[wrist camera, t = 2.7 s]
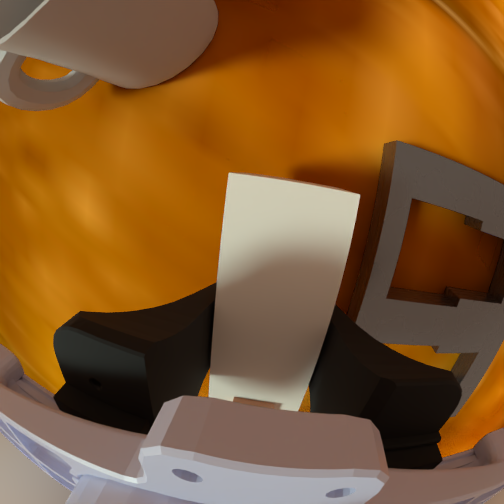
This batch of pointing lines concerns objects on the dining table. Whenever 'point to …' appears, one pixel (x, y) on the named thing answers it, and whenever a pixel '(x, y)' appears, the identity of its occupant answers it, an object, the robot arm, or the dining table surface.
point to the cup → (98, 45)
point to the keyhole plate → (454, 299)
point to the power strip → (276, 286)
